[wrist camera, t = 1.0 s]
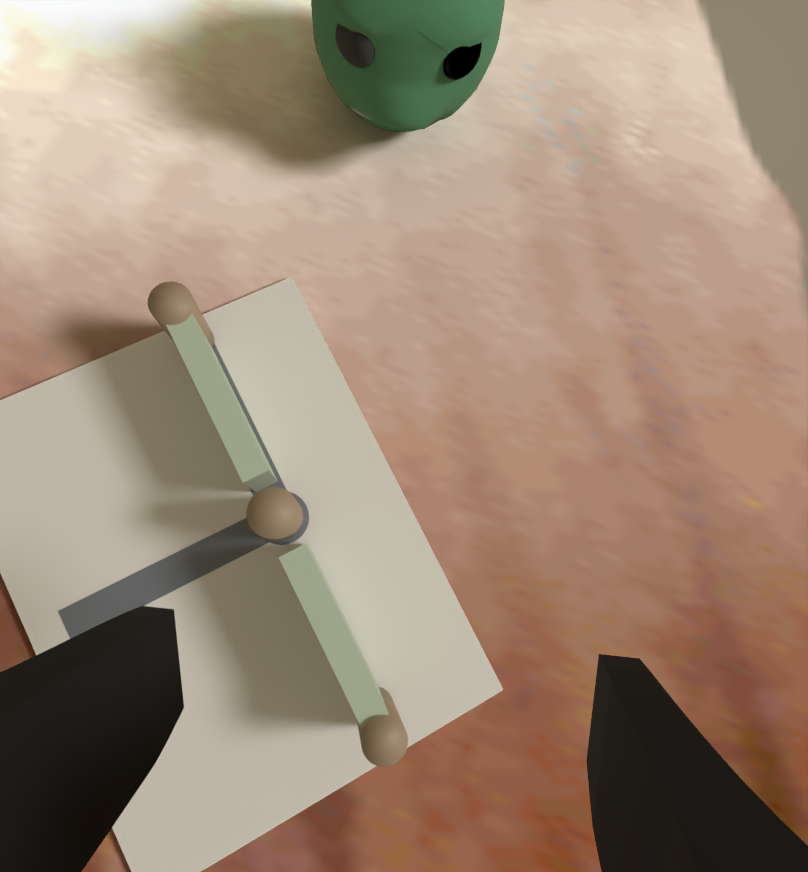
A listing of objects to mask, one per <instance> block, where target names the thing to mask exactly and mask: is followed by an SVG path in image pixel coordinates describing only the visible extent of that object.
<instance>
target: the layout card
mask: <svg viewBox="0 0 808 872" xmlns="http://www.w3.org/2000/svg"><path fill="white" fill-rule="evenodd" d="M202 315H203V317H204V319H205V320H206V322H207V324H208V326H209V328H210V330H211V332H212V333H213V336H214V346H213V350H214V352H215V354H216V356H217V358H218V360H219V362H220V365H221V367H222V369H223V371H224V373H225V375H226V377H227V379H228V381H229V383H230V385H231V387H232V389H233V391H234V393H235V395H236V397H237V399H238V401H239V403H240V405H241V407H242V409H243V411H244V413H245V415H246V417H247V419H248V422H249V424H250V426H251V428H252V430H253V432H254V434H255V436H256V438H257V440H258V442H259V444H260V446H261V448H262V450H263V452H264V454H265V456H266V458H267V460H268V462H269V464H270V466H271V468H272V470H273V472H274V474H275V476H276V478H277V481H278V482H276V483H274V484H272V485H270V486H268V487H279V488H283V489H285V490H287V491H288V492H290V493H291V494H292V495H293V496H294V498H295V499H296V500H297V502H298V503H299V505H300V506H301V508H302V510H303V515H304V520H303V524H302V527H301V529H300V530H299V531H298V532H297V533H296V534H295V535H294V536H292V537H290V538H287V539H267V538H263V537H261V536H259V535H257V534H256V533H255V532H254V531H253V530H252V529H251V528H250V526H249V524H248V521H247V516H246V511H247V506H248V503H249V501H250V500H251V498H252V497H253V496H254V495H255V494H256V493H257V492H258V491H257V492H255V491H254V490H252V489H251V488H249V487H248V486H246V485H245V484H244V483H243V482H242V480H241V478H240V476H239V474H238V472H237V470H236V468H235V466H234V464H233V462H232V460H231V458H230V455H229V453H228V451H227V449H226V447H225V445H224V443H223V441H222V439H221V437H220V435H219V433H218V431H217V429H216V427H215V425H214V423H213V420H212V418H211V416H210V414H209V412H208V410H207V408H206V406H205V404H204V402H203V400H202V398H201V396H200V394H199V392H198V390H197V388H196V385H195V383H194V381H193V379H192V377H191V375H190V373H189V371H188V369H187V367H186V365H185V363H184V361H183V359H182V357H181V355H180V352H179V350H178V348H177V346H176V345H175V344H174V342H173V341H172V340H171V339H170V337H169V336H168V335H167V333H166V332H165V331H162V332H160V333H157V334H155V335H153V336H150V337H148V338H146V339H143V340H141V341H139V342H136V343H134V344H132V345H129V346H127V347H124V348H122V349H120V350H117V351H115V352H113V353H110V354H108V355H106V356H103V357H101V358H99V359H96V360H94V361H91V362H89V363H87V364H84V365H82V366H80V367H77V368H75V369H73V370H70V371H68V372H66V373H63V374H61V375H58V376H56V377H54V378H51V379H49V380H47V381H44V382H42V383H40V384H37V385H35V386H33V387H30V388H28V389H25V390H23V391H21V392H18V393H16V394H14V395H11V396H9V397H7V398H4V399H2V400H0V574H1V576H2V578H3V580H4V583H5V585H6V587H7V589H8V592H9V594H10V596H11V599H12V601H13V603H14V605H15V608H16V610H17V612H18V615H19V617H20V619H21V621H22V624H23V626H24V628H25V630H26V633H27V635H28V637H29V640H30V642H31V644H32V646H33V649H34V651H35V653H36V655H38V654H40V653H42V652H44V651H46V650H48V649H50V648H52V647H55V646H57V645H59V644H61V643H63V642H65V641H67V640H69V639H71V638H73V637H75V636H77V635H79V634H81V633H83V632H85V631H87V630H89V629H91V628H93V627H95V626H97V625H99V624H101V623H104V622H106V621H108V620H110V619H112V618H114V617H116V616H119V615H121V614H123V613H125V612H128V611H130V610H133V609H135V608H138V607H140V606H148V607H157V608H167V609H174V615H175V624H176V634H177V644H178V653H179V663H180V673H181V682H182V692H183V701H184V709H183V711H182V713H181V715H180V717H179V719H178V721H177V723H176V725H175V727H174V729H173V731H172V733H171V735H170V737H169V739H168V741H167V743H166V745H165V746H164V748H163V750H162V752H161V754H160V756H159V758H158V759H157V761H156V763H155V765H154V766H153V768H152V769H151V771H150V772H149V774H148V775H147V777H146V778H145V780H144V781H143V783H142V784H141V786H140V787H139V789H138V790H137V792H136V793H135V794H134V796H133V797H132V799H131V800H130V802H129V803H128V805H127V806H126V808H125V809H124V811H123V812H122V814H121V815H120V816H119V818H118V819H117V821H116V822H115V824H114V825H113V827H112V829H113V831H114V833H115V836H116V838H117V840H118V842H119V845H120V847H121V849H122V852H123V854H124V856H125V858H126V861H127V863H128V865H129V868H130V870H131V872H201V871H203V870H204V869H206V868H208V867H209V866H211V865H213V864H214V863H216V862H218V861H219V860H221V859H223V858H224V857H226V856H228V855H229V854H231V853H233V852H234V851H236V850H238V849H239V848H241V847H243V846H244V845H246V844H248V843H249V842H251V841H253V840H254V839H256V838H258V837H259V836H261V835H263V834H264V833H266V832H268V831H269V830H271V829H273V828H274V827H276V826H278V825H279V824H281V823H283V822H284V821H286V820H288V819H289V818H291V817H293V816H294V815H296V814H298V813H299V812H301V811H303V810H304V809H306V808H308V807H309V806H311V805H313V804H314V803H316V802H318V801H319V800H321V799H323V798H324V797H326V796H328V795H329V794H331V793H333V792H334V791H336V790H338V789H339V788H341V787H343V786H344V785H346V784H348V783H349V782H351V781H353V780H354V779H356V778H358V777H359V776H361V775H363V774H364V773H366V772H367V771H369V770H371V769H372V768H374V767H376V765H374V764H372V763H370V762H369V761H368V760H367V759H366V757H365V756H364V754H363V751H362V747H361V742H360V736H359V730H358V725H357V719H356V716H355V714H354V712H353V710H352V708H351V706H350V704H349V702H348V700H347V698H346V696H345V694H344V691H343V689H342V687H341V685H340V683H339V681H338V679H337V677H336V675H335V673H334V671H333V669H332V667H331V665H330V663H329V661H328V658H327V656H326V654H325V652H324V650H323V648H322V646H321V644H320V642H319V640H318V638H317V636H316V634H315V632H314V630H313V628H312V626H311V623H310V621H309V619H308V617H307V615H306V613H305V611H304V609H303V607H302V605H301V603H300V601H299V599H298V597H297V595H296V593H295V590H294V588H293V586H292V584H291V582H290V580H289V578H288V576H287V574H286V572H285V570H284V568H283V566H282V564H281V562H280V560H279V558H278V557H280V556H282V555H284V554H286V553H288V552H290V551H292V550H294V549H296V548H298V547H300V546H302V545H304V544H307V543H308V544H309V546H310V548H311V550H312V552H313V554H314V556H315V558H316V560H317V562H318V564H319V566H320V568H321V570H322V572H323V574H324V576H325V578H326V581H327V583H328V585H329V587H330V589H331V591H332V593H333V595H334V597H335V599H336V601H337V603H338V605H339V607H340V609H341V611H342V613H343V615H344V617H345V619H346V621H347V623H348V625H349V627H350V629H351V631H352V633H353V635H354V638H355V640H356V642H357V644H358V646H359V648H360V650H361V652H362V654H363V656H364V658H365V660H366V662H367V664H368V666H369V668H370V670H371V672H372V674H373V676H374V678H375V680H376V682H377V684H378V686H379V687H382V688H384V689H385V690H387V691H388V692H389V694H390V695H391V697H392V699H393V702H394V704H395V706H396V709H397V711H398V713H399V716H400V718H401V720H402V723H403V725H404V727H405V730H406V732H407V736H408V746H407V747H409V746H411V745H412V744H414V743H416V742H417V741H419V740H421V739H422V738H424V737H426V736H427V735H429V734H431V733H432V732H434V731H436V730H437V729H439V728H441V727H442V726H444V725H446V724H447V723H449V722H451V721H452V720H454V719H456V718H457V717H459V716H461V715H462V714H464V713H466V712H467V711H469V710H471V709H472V708H474V707H476V706H477V705H479V704H481V703H482V702H484V701H486V700H487V699H489V698H491V697H492V696H494V695H496V694H497V693H499V692H501V691H502V690H503V688H502V686H501V684H500V682H499V680H498V678H497V676H496V674H495V672H494V670H493V668H492V666H491V664H490V663H489V661H488V659H487V657H486V655H485V653H484V651H483V649H482V647H481V645H480V643H479V641H478V639H477V637H476V635H475V633H474V631H473V629H472V627H471V625H470V623H469V621H468V619H467V618H466V616H465V614H464V612H463V610H462V608H461V606H460V604H459V602H458V600H457V598H456V596H455V594H454V592H453V590H452V588H451V586H450V584H449V582H448V580H447V578H446V576H445V574H444V573H443V571H442V569H441V567H440V565H439V563H438V561H437V559H436V557H435V555H434V553H433V551H432V549H431V547H430V545H429V543H428V541H427V539H426V537H425V535H424V533H423V531H422V530H421V528H420V526H419V524H418V522H417V520H416V518H415V516H414V514H413V512H412V510H411V508H410V506H409V504H408V502H407V500H406V498H405V496H404V494H403V492H402V490H401V488H400V486H399V485H398V483H397V481H396V479H395V477H394V475H393V473H392V471H391V469H390V467H389V465H388V463H387V461H386V459H385V457H384V455H383V453H382V451H381V449H380V447H379V445H378V443H377V441H376V440H375V438H374V436H373V434H372V432H371V430H370V428H369V426H368V424H367V422H366V420H365V418H364V416H363V414H362V412H361V410H360V408H359V406H358V404H357V402H356V400H355V398H354V396H353V395H352V393H351V391H350V389H349V387H348V385H347V383H346V381H345V379H344V377H343V375H342V373H341V371H340V369H339V367H338V365H337V363H336V361H335V359H334V357H333V355H332V353H331V351H330V350H329V348H328V346H327V344H326V342H325V340H324V338H323V336H322V334H321V332H320V330H319V328H318V326H317V324H316V322H315V320H314V318H313V316H312V314H311V312H310V310H309V308H308V306H307V305H306V303H305V301H304V299H303V297H302V295H301V293H300V291H299V289H298V287H297V285H296V283H295V281H294V279H293V277H289V278H287V279H285V280H282V281H280V282H278V283H275V284H273V285H271V286H268V287H266V288H264V289H261V290H259V291H256V292H254V293H252V294H249V295H247V296H245V297H242V298H240V299H238V300H235V301H233V302H231V303H228V304H226V305H223V306H221V307H219V308H216V309H214V310H212V311H209V312H207V313H205V314H202ZM268 487H266V488H268ZM263 489H264V488H263ZM261 490H262V489H261ZM259 491H260V490H259Z"/></svg>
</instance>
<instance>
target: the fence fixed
mask: <svg viewBox="0 0 808 872" xmlns="http://www.w3.org/2000/svg"><path fill="white" fill-rule="evenodd" d="M148 307H149V310H150V312H151V314H152V315H153V316H154V318H155V319H156V320H157V321H158V323H159V324H160V325H161V327H162V328H163V329H164V331H165V332H166V333H167V335H168V336H169V337H170V339H171V340H172V341H173V342H174V344H175V345H176V346H177V348H178V350H179V352H180V355H181V357H182V359H183V361H184V363H185V365H186V367H187V369H188V371H189V373H190V375H191V377H192V379H193V381H194V383H195V385H196V388H197V390H198V392H199V394H200V396H201V398H202V400H203V402H204V404H205V406H206V408H207V410H208V412H209V414H210V416H211V418H212V420H213V423H214V425H215V427H216V429H217V431H218V433H219V435H220V437H221V439H222V441H223V443H224V445H225V447H226V449H227V451H228V453H229V455H230V458H231V460H232V462H233V464H234V466H235V468H236V470H237V472H238V474H239V476H240V478H241V480H242V482H243V483H244V484H245V485H246V486H248V487H249V488H251V489H252V490H254V491H255V492H257V491H258V492H257V493H256V494H255V495H254V496H253V497H252V498H251V500H250V501H249V503H248V506H247V511H246V516H247V521H248V524H249V526H250V528H251V529H252V530H253V531H254V532H255V533H256V534H257V535H259V536H261V537H263V538H267V539H287V538H290V537H292V536H294V535H295V534H296V533H297V532H298V531H299V530H300V529H301V527H302V524H303V520H304V515H303V510H302V508H301V506H300V505H299V503H298V502H297V500H296V499H295V498H294V496H293V495H292V494H291V493H290V492H288V491H287V490H285V489H283V488H279V487H268V486H270V485H272V484H274V483H276V482H278V481H277V478H276V476H275V474H274V472H273V470H272V468H271V466H270V464H269V462H268V460H267V458H266V456H265V454H264V452H263V450H262V448H261V446H260V444H259V442H258V440H257V438H256V436H255V434H254V432H253V430H252V428H251V426H250V424H249V422H248V419H247V417H246V415H245V413H244V411H243V409H242V407H241V405H240V403H239V401H238V399H237V397H236V395H235V393H234V391H233V389H232V387H231V385H230V383H229V381H228V379H227V377H226V375H225V373H224V371H223V369H222V367H221V365H220V362H219V360H218V358H217V356H216V354H215V352H214V350H213V346H214V336H213V333H212V332H211V330H210V328H209V326H208V324H207V322H206V320H205V319H204V317H203V315H202V313H201V311H200V309H199V308H198V306H197V304H196V302H195V300H194V298H193V296H192V295H191V293H190V291H189V290H188V289H187V288H186V287H185V286H184V285H182V284H180V283H177V282H164V283H161V284H159V285H158V286H156V287H155V288H154V289H153V290H152V291H151V293H150V295H149V298H148ZM266 487H268V488H266ZM263 488H264V489H263ZM261 489H262V490H261ZM259 490H260V491H259Z"/></svg>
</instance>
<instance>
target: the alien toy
mask: <svg viewBox="0 0 808 872" xmlns="http://www.w3.org/2000/svg"><path fill="white" fill-rule="evenodd" d="M504 1H505V0H312V1H311V6H312V18H313V30H314V40H315V44H316V49H317V52H318V55H319V58H320V60H321V63H322V66H323V68H324V71H325V73H326V76H327V79H328V81H329V82H330V84H331V86H332V87H333V89H334V90H335V92H336V93H337V94H338V96H339V97H340V98H341V100H342V101H343V103H344V104H345V105H346V106H347V107H348V108H350V109H351V110H353V111H354V112H355V113H356V114H357V115H359V116H360V117H361V118H362V119H363V120H365V121H367V122H369V123H371V124H373V125H375V126H377V127H379V128H382V129H387V130H391V131H395V132H396V131H415V130H418V129H425V128H427V127H428V126H430V125H432V124H434V123H435V122H437V121H439V120H442V119H445V118H447V117H449V116H451V115H452V114H453V113H454V112H456V111H457V110H458V109H459V108H460V107H461V106H462V105H463V104H464V102H465V101H466V100H467V99H468V98H469V97H470V96H471V95H472V94H473V92H474V91H475V90H476V89H477V87H478V85H479V83H480V82H481V80H482V78H483V76H484V74H485V72H486V70H487V68H488V66H489V64H490V62H491V60H492V58H493V55H494V53H495V50H496V47H497V43H498V40H499V35H500V29H501V23H502V16H503V10H504Z"/></svg>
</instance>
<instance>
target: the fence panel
mask: <svg viewBox="0 0 808 872" xmlns="http://www.w3.org/2000/svg"><path fill="white" fill-rule="evenodd" d="M278 558H279V560H280V562H281V564H282V566H283V568H284V570H285V572H286V574H287V576H288V578H289V580H290V582H291V584H292V586H293V588H294V590H295V593H296V595H297V597H298V599H299V601H300V603H301V605H302V607H303V609H304V611H305V613H306V615H307V617H308V619H309V621H310V623H311V626H312V628H313V630H314V632H315V634H316V636H317V638H318V640H319V642H320V644H321V646H322V648H323V650H324V652H325V654H326V656H327V658H328V661H329V663H330V665H331V667H332V669H333V671H334V673H335V675H336V677H337V679H338V681H339V683H340V685H341V687H342V689H343V691H344V694H345V696H346V698H347V700H348V702H349V704H350V706H351V708H352V710H353V712H354V714H355V716H356V719H357V725H358V730H359V736H360V742H361V747H362V751H363V754H364V756H365V757H366V759H367V760H368V761H369V762H370V763H372V764H374V765H376V766H379V767H388V766H391V765H394V764H396V763H397V762H398V761H399V760H401V758H402V757H403V756H404V754H405V752H406V750H407V746H408V736H407V732H406V730H405V727H404V725H403V723H402V720H401V718H400V716H399V713H398V711H397V709H396V706H395V704H394V702H393V699H392V697H391V695H390V694H389V692H388V691H387V690H385V689H384V688H382V687H379V686H378V684H377V682H376V680H375V678H374V676H373V674H372V672H371V670H370V668H369V666H368V664H367V662H366V660H365V658H364V656H363V654H362V652H361V650H360V648H359V646H358V644H357V642H356V640H355V638H354V635H353V633H352V631H351V629H350V627H349V625H348V623H347V621H346V619H345V617H344V615H343V613H342V611H341V609H340V607H339V605H338V603H337V601H336V599H335V597H334V595H333V593H332V591H331V589H330V587H329V585H328V583H327V581H326V578H325V576H324V574H323V572H322V570H321V568H320V566H319V564H318V562H317V560H316V558H315V556H314V554H313V552H312V550H311V548H310V546H309V544H308V543H307V544H304V545H302V546H300V547H298V548H296V549H294V550H292V551H290V552H288V553H286V554H284V555H282V556H280V557H278Z"/></svg>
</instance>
